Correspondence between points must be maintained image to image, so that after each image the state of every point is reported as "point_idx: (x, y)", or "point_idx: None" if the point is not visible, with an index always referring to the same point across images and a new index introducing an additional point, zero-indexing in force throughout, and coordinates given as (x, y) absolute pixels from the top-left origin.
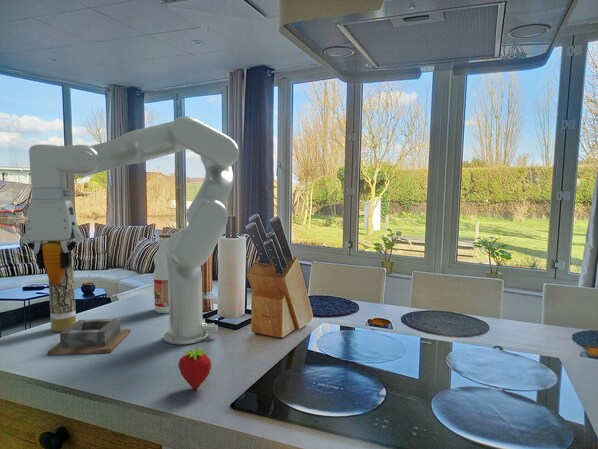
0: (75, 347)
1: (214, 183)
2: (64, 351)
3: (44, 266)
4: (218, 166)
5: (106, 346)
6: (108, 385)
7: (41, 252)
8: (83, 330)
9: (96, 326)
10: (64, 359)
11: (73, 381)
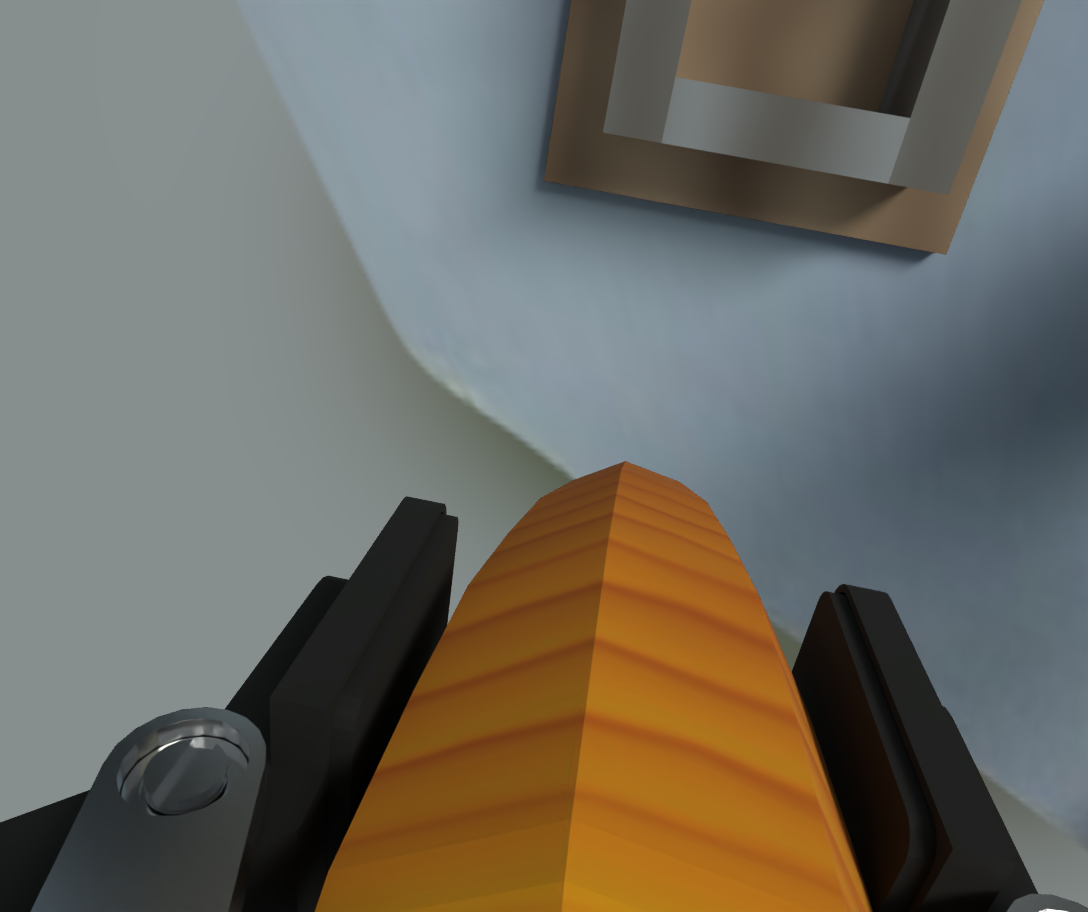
0: (707, 153)
1: None
2: (647, 199)
3: (442, 622)
4: None
5: (918, 190)
6: (922, 649)
7: (316, 900)
8: (774, 103)
9: None
10: (666, 284)
11: (767, 570)
